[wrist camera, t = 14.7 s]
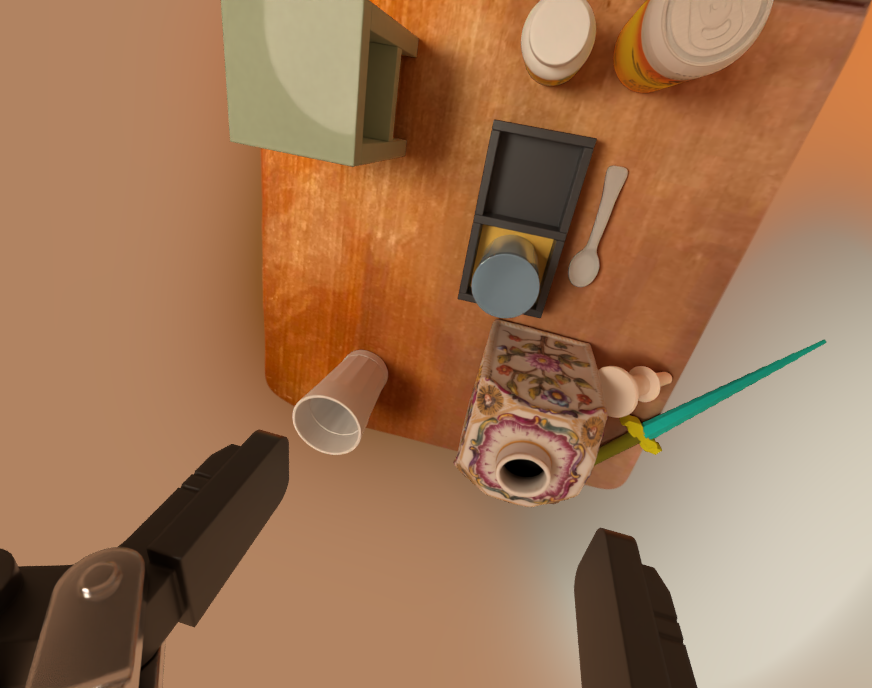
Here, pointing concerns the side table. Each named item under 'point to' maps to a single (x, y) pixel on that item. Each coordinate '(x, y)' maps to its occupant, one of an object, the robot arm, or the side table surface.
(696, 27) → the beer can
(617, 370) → the beige rounded piece
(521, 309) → the blue grey cylinder
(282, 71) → the shelf
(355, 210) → the side table surface
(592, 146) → the tray
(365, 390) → the cup
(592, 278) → the spoon
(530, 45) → the supplement bottle
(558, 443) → the decorative jar
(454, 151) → the side table surface
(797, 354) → the toy sword
